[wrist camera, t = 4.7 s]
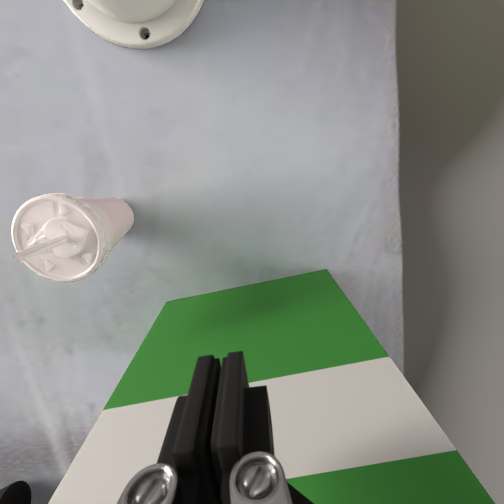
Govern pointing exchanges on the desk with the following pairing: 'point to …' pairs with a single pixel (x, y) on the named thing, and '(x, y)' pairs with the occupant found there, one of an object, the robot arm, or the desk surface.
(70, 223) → the smoothie
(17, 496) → the telephone
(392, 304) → the desk surface
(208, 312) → the hardback book
